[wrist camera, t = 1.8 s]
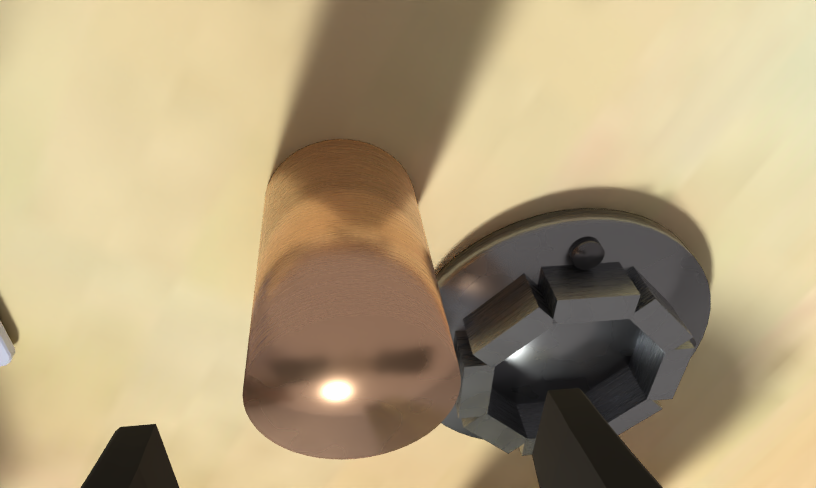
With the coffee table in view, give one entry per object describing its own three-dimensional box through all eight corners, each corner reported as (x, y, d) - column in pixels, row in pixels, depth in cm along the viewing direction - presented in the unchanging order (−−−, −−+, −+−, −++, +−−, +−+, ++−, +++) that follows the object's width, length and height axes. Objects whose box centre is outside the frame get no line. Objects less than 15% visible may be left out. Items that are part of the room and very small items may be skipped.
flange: (401, 437, 25) (409, 491, 23) (408, 217, 18) (419, 267, 16) (652, 413, 26) (679, 462, 24) (743, 200, 20) (789, 244, 18)
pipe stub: (273, 268, 19) (257, 468, 13) (255, 142, 16) (226, 325, 11) (412, 260, 19) (453, 449, 14) (417, 136, 17) (469, 307, 11)
